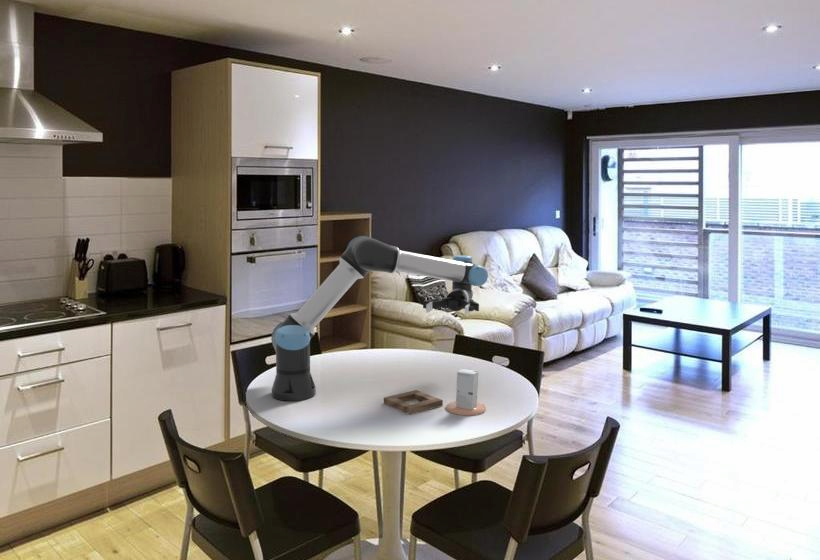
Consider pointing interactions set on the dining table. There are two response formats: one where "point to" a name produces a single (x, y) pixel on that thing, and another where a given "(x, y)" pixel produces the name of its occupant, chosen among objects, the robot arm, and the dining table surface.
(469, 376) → the skincare box
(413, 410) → the socket block
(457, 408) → the coaster
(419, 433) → the dining table surface
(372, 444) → the dining table surface
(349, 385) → the dining table surface
